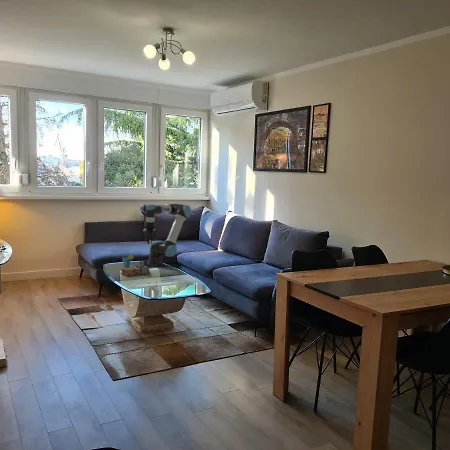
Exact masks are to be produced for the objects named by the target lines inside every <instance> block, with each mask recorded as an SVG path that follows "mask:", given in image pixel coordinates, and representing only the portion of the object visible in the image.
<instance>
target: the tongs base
mask: <svg viewBox="0 0 450 450" xmlns="http://www.w3.org/2000/svg"><path fill="white" fill-rule="evenodd" d="M133 268H139V267H136V266H134V267H129V268H123V267H122V268H121V273H120V274H121V275H123V276H125V275H124V269H133ZM147 274H150V267H148V273H147Z"/></svg>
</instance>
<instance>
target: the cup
mask: <svg viewBox="0 0 450 450" xmlns="http://www.w3.org/2000/svg"><path fill="white" fill-rule="evenodd" d="M117 256H122V268H131V261H132V260H134V255H133V254H128V256H127V257H126V256H125V257H124V255H123V253H118V254H117Z"/></svg>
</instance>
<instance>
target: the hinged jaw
mask: <svg viewBox="0 0 450 450" xmlns="http://www.w3.org/2000/svg"><path fill="white" fill-rule="evenodd" d="M135 275H136V276H137V275H142V274H141V268H133V269H124V275H123V276H124V277H127V276H135Z"/></svg>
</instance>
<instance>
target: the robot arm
mask: <svg viewBox="0 0 450 450" xmlns="http://www.w3.org/2000/svg"><path fill="white" fill-rule="evenodd" d="M139 210H140V212H142V213H145V228H144V229H143V230H142V231H143V234H144V239H145V241H146V243H147V248H148V249H149V257H148V260H147V265H148V266H151V267H162V266H164V260H163V256H165V257H168V258H169V257H171V258H172V257H174V256H175V255H176V254H177V251H178V250H177V249H178V247H177V244H176V242H177V240H178V236H179V234H180V232H181V229H182V227H183V224H184V222H185V221H186V220H187V218H189V217H190V216H191V215H192V209H191V207H190V205H188V204H181V203H180V204H179V203H166V204H154V203H147V204H146V203H142V204H140V207H139ZM161 214H167V215H172V216H174V217H175V218H174V221H173V223H172V225H171V228H170V230H169V233H168V236H167V239H165V240H164V242H163V240H155V236H156V232H157V230H158V229H157V228H156V227H155V220H156V219H155V217H156V216H155V215H161Z"/></svg>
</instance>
